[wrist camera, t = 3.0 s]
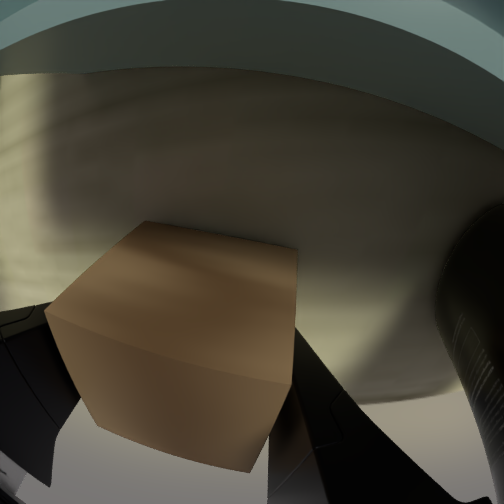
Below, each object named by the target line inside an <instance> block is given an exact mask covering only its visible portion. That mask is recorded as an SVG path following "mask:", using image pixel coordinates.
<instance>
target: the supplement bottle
mask: <svg viewBox="0 0 504 504" xmlns="http://www.w3.org/2000/svg"><path fill="white" fill-rule="evenodd" d="M435 318H436V324H437V328H438V331H439V334H440V336H441V338H442V340H443V343H444V345H445V347H446V349H447V352H448V354H449V356H450V358H451V360H452V363H453V365H454V367H455V369H456V372H457V374H458V376H459V379H460V381H461V383H462V386H463V388H464V391H465V393H466V396H467V398H468V401H469V403H470V406H471V409H472V412H473V414H474V417H475V420H476V423H477V426H478V429H479V432H480V435H481V438H482V441H483V444H484V448H485V451H486V455H487V459H488V462H489V465H490V470H491V474H492V478H493V483H494V487H495V492H496V497H497V502H498V504H504V203H503V204H501V205H498V206H496V207H494V208H493V209H491V210H489V211H488V212H487V213H485V214H484V215H482V216H481V217H480V218H479V219H478V220H477V221H476V222H475V223H474V224H473V225H472V226H471V227H470V228H469V229H468V230H467V231H466V233H465V234H464V235H463V236H462V238H461V239H460V240H459V242H458V244H457V245H456V247H455V248H454V250H453V252H452V253H451V255H450V257H449V259H448V261H447V263H446V266H445V268H444V270H443V273H442V276H441V278H440V282H439V285H438V289H437V294H436V302H435Z"/></svg>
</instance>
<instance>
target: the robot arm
mask: <svg viewBox="0 0 504 504" xmlns="http://www.w3.org/2000/svg"><path fill="white" fill-rule="evenodd" d="M51 303H52V302H48V303H44V304H39V305H36V306H35V305H33V306H28V307H24V308H19V309H14V310H8V311H2V312H0V504H26V503H24V502H23V501H22V500H20V499H19V498H18V497H16V496H15V495H16V493H17V491H18V489H19V486H20V485H21V483H22V481H23V479H24V477H25V475H26V473H27V472H28V473H29V474H31V475H32V476H33V477H35V478H36V479H37V480H39V481H40V482H42V483H43V484H45V485H46V486H48V487H50V485H51V479H52V465H53V455H54V446H55V441H56V437H57V435H58V433H59V431H60V429H61V428H62V426H63V425H64V423H65V422H66V420H67V418H68V417H69V415H70V414H71V412H72V411H73V409H74V407H75V406H76V405H77V403H78V401H79V400H80V398H81V396H80V394H79V392H78V390H77V388H76V386H75V384H74V382H73V380H72V378H71V376H70V374H69V372H68V370H67V367H66V365H65V363H64V361H63V359H62V356H61V354H60V352H59V349H58V347H57V344H56V342H55V339H54V337H53V334H52V332H51V329H50V326H49V324H48V321H47V318H46V315H45V312H44V310H45V309H46V308H47V307H48V306H49V305H50V304H51ZM267 498H268V500H267V504H492V502H491V500H490V499H489V497H482V498H480V499H477V500H474V501H471V502H467V503H464V502H460V501H457V500H456V499H454V498H453V497H452V496H451V495H450V494H449V493H448V492H446V491H445V490H444V489H443V488H442V487H441V486H440V485H439V484H438V483H437V482H435V481H434V480H433V479H432V478H431V477H430V476H429V475H428V474H427V473H425V472H424V470H422V469H421V468H420V467H419V466H418V465H417V464H416V463H415V462H414V461H413V460H412V459H411V458H410V457H409V456H408V455H407V454H405V453H404V452H403V451H402V450H401V449H400V448H399V447H398V446H397V445H396V444H395V443H394V442H393V441H392V440H391V439H390V438H389V437H388V436H387V435H386V434H385V433H384V432H383V431H382V430H381V429H380V428H379V427H378V426H377V425H375V423H373V421H371V419H370V418H369V417H368V416H367V415H366V414H365V413H364V412H363V411H362V410H361V409H360V408H359V406H358V405H357V404H356V403H355V402H354V400H353V399H352V398H351V397H350V396H349V394H348V393H347V392H346V391H345V390H344V389H343V387H342V386H341V385H340V384H339V382H338V381H337V380H336V378H335V377H334V376H333V375H332V373H331V372H330V371H329V370H328V368H327V367H326V366H325V364H324V363H323V362H322V361H321V359H320V358H319V357H318V356H317V354H316V353H315V352H314V350H313V349H312V348H311V347H310V345H309V344H308V343H307V341H306V340H305V339H304V338H303V336H302V335H301V334H300V332H299V331H298V330H297V329H296V327H295V336H294V353H293V368H292V383H291V387H290V389H289V391H288V394H287V396H286V398H285V401H284V403H283V405H282V408H281V410H280V412H279V414H278V416H277V419H276V421H275V423H274V425H273V427H272V429H271V432H270V434H269V460H268V497H267Z"/></svg>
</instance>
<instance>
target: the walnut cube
mask: <svg viewBox="0 0 504 504" xmlns="http://www.w3.org/2000/svg"><path fill="white" fill-rule="evenodd" d="M297 256H298V250H296V249H291V248H286V247H281V246H276V245H271V244H266V243H261V242H256V241H251V240H246V239H240V238H235V237H230V236H225V235H220V234H214V233H209V232H204V231H199V230H193V229H188V228H183V227H177V226H172V225H167V224H161V223H156V222H150V221H144V222H143V223H141V224H140V225H139V226H138V227H136V228H135V229H134V230H133V231H131V232H130V233H129V234H128V235H127V236H125V237H124V238H123V239H122V240H120V241H119V242H118V243H117V244H116V245H115V246H113V247H112V248H111V249H110V250H109V251H108V252H106V253H105V254H104V255H103V256H102V257H101V258H99V259H98V260H97V261H96V262H95V263H94V264H93V265H92V266H90V267H89V268H88V269H87V270H86V271H85V272H84V273H83V274H82V275H81V276H79V277H78V278H77V279H76V280H75V281H74V282H73V283H72V284H71V285H70V286H69V287H68V288H67V289H66V290H65V291H63V292H62V293H61V294H60V295H59V296H58V297H57V298H56V299H55V300H54V301H53V302H52V303H51V304H50V305H49V306H48V307H47V308H46V309H45V310H44V312H45V315H46V318H47V321H48V324H49V326H50V329H51V332H52V334H53V337H54V339H55V342H56V344H57V347H58V349H59V352H60V354H61V356H62V359H63V361H64V363H65V365H66V367H67V370H68V372H69V374H70V376H71V378H72V380H73V382H74V384H75V386H76V388H77V390H78V392H79V394H80V396H81V398H82V400H83V402H84V403H85V405H86V407H87V409H88V411H89V412H90V414H91V416H92V418H93V419H94V421H95V423H96V424H97V426H99V427H101V428H103V429H106V430H108V431H110V432H112V433H115V434H117V435H119V436H122V437H124V438H127V439H129V440H132V441H134V442H137V443H139V444H142V445H145V446H147V447H150V448H153V449H156V450H159V451H162V452H165V453H168V454H171V455H175V456H178V457H181V458H185V459H188V460H192V461H196V462H199V463H203V464H208V465H211V466H216V467H221V468H225V469H230V470H235V471H240V472H246V473H250V472H251V470H252V468H253V466H254V464H255V462H256V460H257V458H258V456H259V454H260V452H261V450H262V448H263V446H264V444H265V442H266V440H267V438H268V436H269V434H270V432H271V429H272V427H273V425H274V423H275V421H276V419H277V416H278V414H279V412H280V410H281V408H282V405H283V403H284V401H285V398H286V396H287V394H288V391H289V389H290V387H291V383H292V368H293V353H294V336H295V316H296V291H297Z"/></svg>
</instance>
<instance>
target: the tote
mask: <svg viewBox="0 0 504 504" xmlns="http://www.w3.org/2000/svg"><path fill="white" fill-rule="evenodd" d="M171 66H190V67H218V68H233V69H244V70H254V71H263V72H270V73H277V74H284V75H290V76H296V77H302V78H307V79H312V80H317V81H322V82H326V83H331V84H335V85H339V86H343V87H347V88H351V89H355V90H359V91H362V92H366V93H369V94H373V95H376V96H379V97H382V98H386V99H389V100H392V101H395V102H398V103H401V104H403V105H406V106H409V107H412V108H414V109H417V110H420V111H422V112H425V113H427V114H430V115H432V116H435V117H437V118H439V119H442V120H444V121H446V122H448V123H451V124H453V125H455V126H457V127H459V128H461V129H464V130H466V131H468V132H470V133H472V134H474V135H476V136H478V137H480V138H481V139H483V140H485V141H487V142H489V143H491V144H493V145H494V146H496V147H498V148H500V149H501V150H503V151H504V0H0V76H3V75H15V74H36V73H71V74H86V73H93V72H101V71H109V70H118V69H129V68H143V67H171Z"/></svg>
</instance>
